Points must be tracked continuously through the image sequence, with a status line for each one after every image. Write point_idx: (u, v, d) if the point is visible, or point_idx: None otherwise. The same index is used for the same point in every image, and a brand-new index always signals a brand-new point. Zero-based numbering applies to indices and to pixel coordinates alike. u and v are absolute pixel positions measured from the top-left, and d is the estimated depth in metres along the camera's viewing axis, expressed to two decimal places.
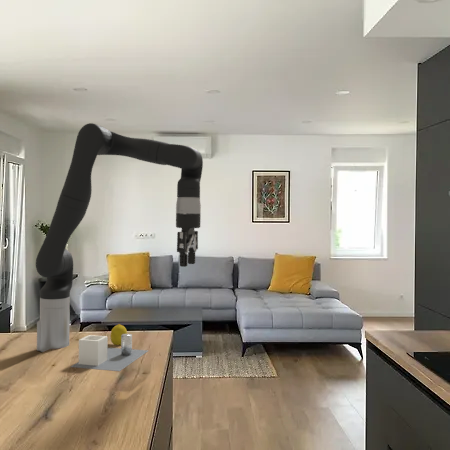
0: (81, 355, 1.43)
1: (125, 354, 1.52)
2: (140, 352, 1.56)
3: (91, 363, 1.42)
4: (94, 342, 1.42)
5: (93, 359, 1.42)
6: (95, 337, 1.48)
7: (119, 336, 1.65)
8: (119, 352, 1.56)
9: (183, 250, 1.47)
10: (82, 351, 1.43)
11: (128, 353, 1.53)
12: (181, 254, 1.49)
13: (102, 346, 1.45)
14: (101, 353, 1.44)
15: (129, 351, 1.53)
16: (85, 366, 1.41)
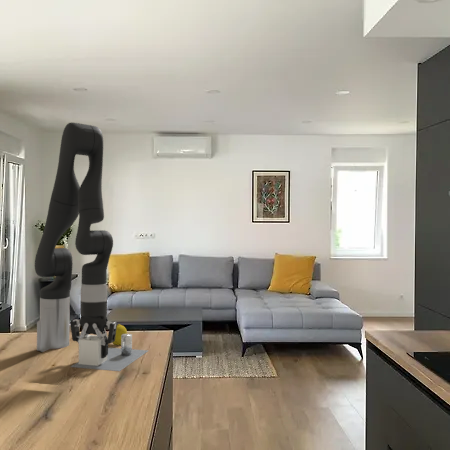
0: (81, 355, 1.43)
1: (125, 354, 1.52)
2: (140, 352, 1.56)
3: (91, 363, 1.42)
4: (94, 342, 1.42)
5: (93, 359, 1.42)
6: (95, 337, 1.48)
7: (119, 336, 1.65)
8: (119, 352, 1.56)
9: (114, 340, 1.45)
10: (82, 351, 1.43)
11: (128, 353, 1.53)
12: (106, 345, 1.44)
13: None
14: None
15: (129, 351, 1.53)
16: (85, 366, 1.41)
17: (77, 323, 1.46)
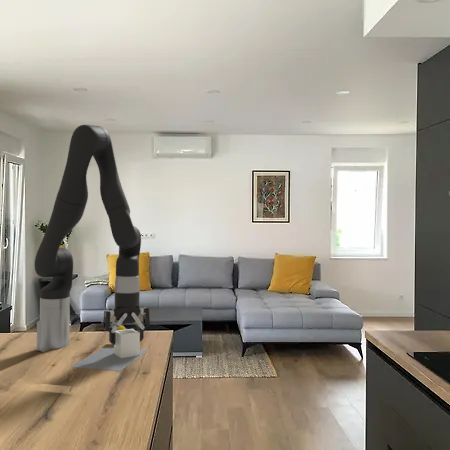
0: (123, 349, 1.50)
1: None
2: (140, 352, 1.56)
3: (133, 354, 1.52)
4: (136, 334, 1.52)
5: (135, 350, 1.52)
6: (122, 331, 1.56)
7: None
8: None
9: None
10: (124, 345, 1.50)
11: None
12: None
13: None
14: None
15: None
16: (85, 366, 1.41)
17: (111, 314, 1.51)
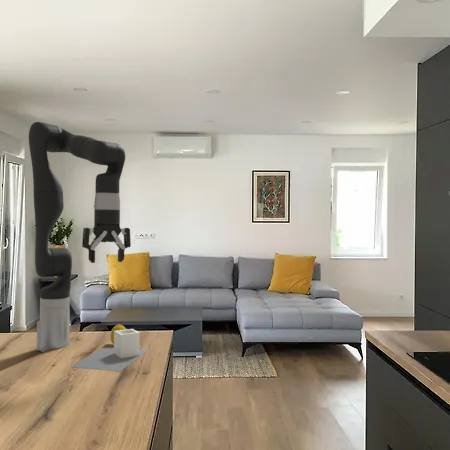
0: (123, 349, 1.50)
1: None
2: (140, 352, 1.56)
3: (133, 354, 1.52)
4: (136, 334, 1.52)
5: (135, 350, 1.52)
6: (122, 331, 1.56)
7: None
8: None
9: None
10: (124, 345, 1.50)
11: None
12: None
13: None
14: None
15: None
16: (85, 366, 1.41)
17: (91, 231, 1.48)
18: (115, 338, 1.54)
